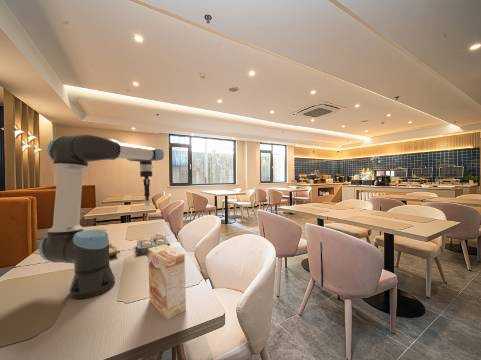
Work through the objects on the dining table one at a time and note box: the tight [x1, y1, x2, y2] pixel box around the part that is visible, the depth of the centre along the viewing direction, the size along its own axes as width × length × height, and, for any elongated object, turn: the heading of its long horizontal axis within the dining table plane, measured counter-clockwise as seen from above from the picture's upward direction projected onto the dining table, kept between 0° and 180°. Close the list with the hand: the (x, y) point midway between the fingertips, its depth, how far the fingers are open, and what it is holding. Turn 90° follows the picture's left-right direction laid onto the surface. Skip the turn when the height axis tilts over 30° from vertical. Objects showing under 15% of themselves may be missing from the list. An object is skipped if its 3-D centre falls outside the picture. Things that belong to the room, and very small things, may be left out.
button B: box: [142, 242, 151, 247], centre depth 125 cm, size 5×5×4 cm
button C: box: [154, 232, 164, 241], centre depth 136 cm, size 5×5×4 cm
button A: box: [156, 239, 164, 245], centre depth 129 cm, size 5×5×4 cm
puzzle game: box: [109, 242, 121, 258], centre depth 120 cm, size 12×5×20 cm
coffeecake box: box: [147, 244, 187, 321], centre depth 71 cm, size 15×7×20 cm, turn 45°
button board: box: [136, 235, 171, 256], centre depth 131 cm, size 18×18×4 cm
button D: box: [140, 237, 151, 243], centre depth 132 cm, size 5×5×4 cm
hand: (147, 205), depth 138 cm, fingers closed
